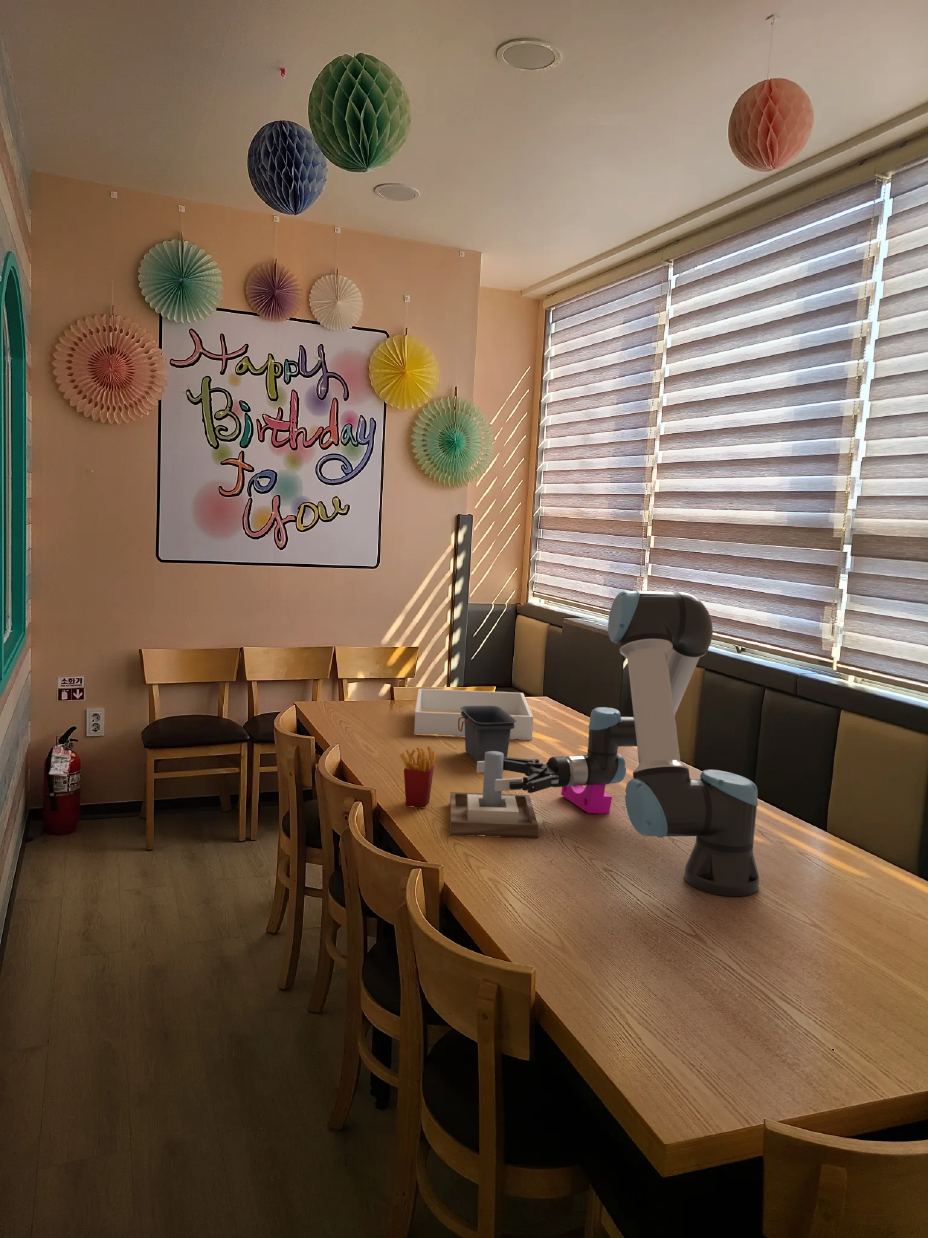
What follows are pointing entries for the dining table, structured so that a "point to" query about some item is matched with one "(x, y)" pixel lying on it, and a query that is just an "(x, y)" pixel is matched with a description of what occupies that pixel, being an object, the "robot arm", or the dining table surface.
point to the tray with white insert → (462, 826)
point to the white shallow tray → (460, 698)
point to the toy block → (589, 797)
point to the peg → (492, 778)
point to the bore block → (492, 810)
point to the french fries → (418, 777)
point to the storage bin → (486, 730)
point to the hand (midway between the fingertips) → (485, 775)
